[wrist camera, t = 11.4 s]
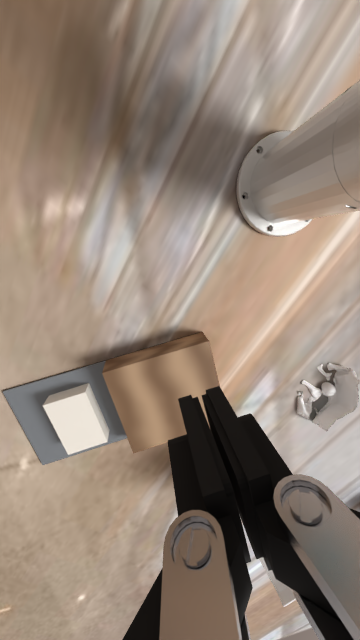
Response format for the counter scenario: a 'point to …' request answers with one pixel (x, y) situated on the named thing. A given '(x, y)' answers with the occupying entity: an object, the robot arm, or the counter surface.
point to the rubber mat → (36, 420)
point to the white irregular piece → (332, 396)
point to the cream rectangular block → (77, 418)
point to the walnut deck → (159, 387)
